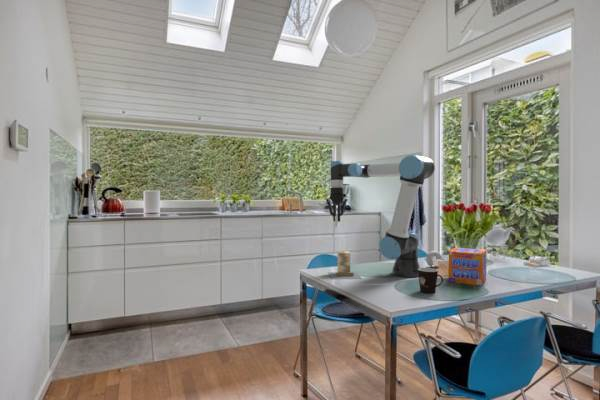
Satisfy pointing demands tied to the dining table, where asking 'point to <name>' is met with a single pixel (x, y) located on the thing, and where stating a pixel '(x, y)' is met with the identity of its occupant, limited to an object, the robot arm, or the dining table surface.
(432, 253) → the donut
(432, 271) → the coffee mug
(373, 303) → the dining table surface
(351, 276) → the mat
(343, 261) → the birch block
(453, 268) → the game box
